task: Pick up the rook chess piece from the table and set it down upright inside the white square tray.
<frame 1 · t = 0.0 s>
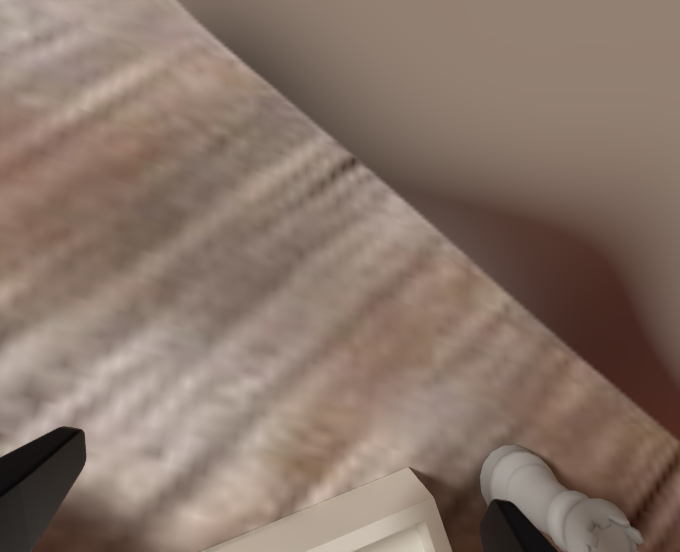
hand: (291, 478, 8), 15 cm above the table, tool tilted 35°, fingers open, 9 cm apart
rook chess piece: (507, 478, 22), on the table
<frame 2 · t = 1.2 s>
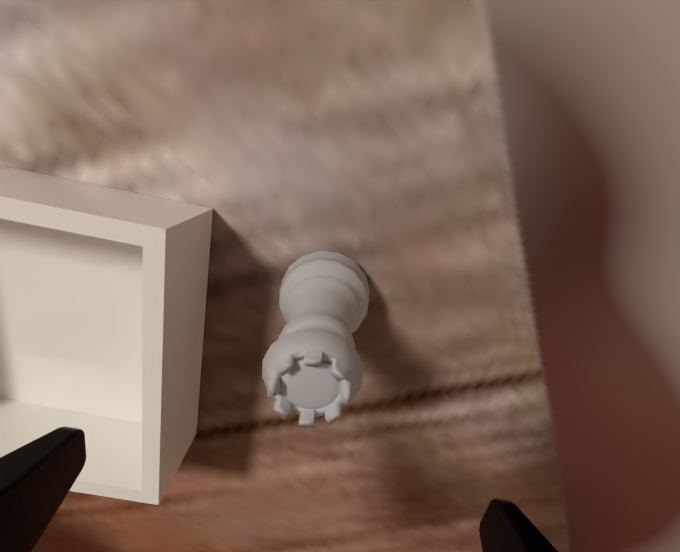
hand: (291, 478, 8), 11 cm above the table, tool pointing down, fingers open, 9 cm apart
white square tray: (72, 311, 18), on the table
rook chess piece: (325, 288, 18), on the table
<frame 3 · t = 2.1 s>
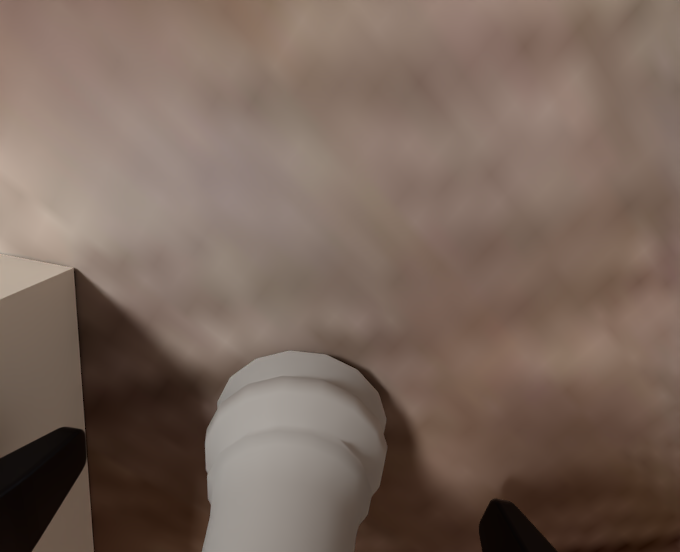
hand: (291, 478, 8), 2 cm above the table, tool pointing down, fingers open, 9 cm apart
rook chess piece: (304, 405, 10), on the table
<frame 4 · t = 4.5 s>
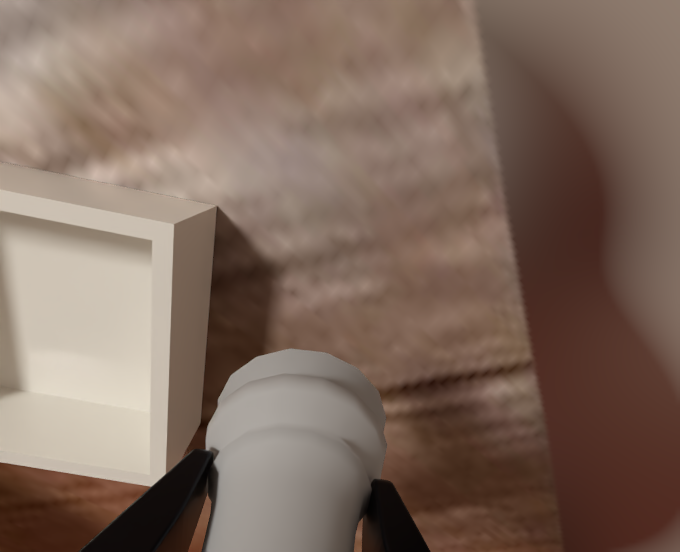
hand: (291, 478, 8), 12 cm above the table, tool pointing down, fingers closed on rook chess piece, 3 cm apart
white square tray: (82, 304, 19), on the table
rook chess piece: (304, 403, 10), point 9 cm above the table, touching gripper
when the fingers open (5 cm above the table, at t = 7.2 s): rook chess piece drops 1 cm, resting on white square tray.
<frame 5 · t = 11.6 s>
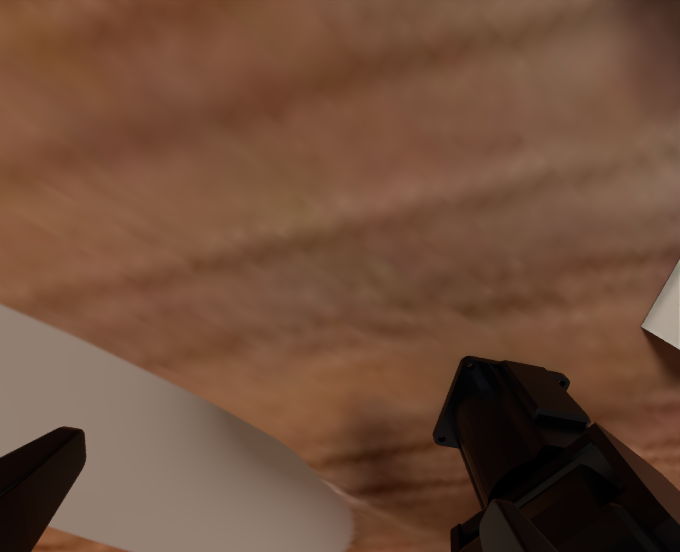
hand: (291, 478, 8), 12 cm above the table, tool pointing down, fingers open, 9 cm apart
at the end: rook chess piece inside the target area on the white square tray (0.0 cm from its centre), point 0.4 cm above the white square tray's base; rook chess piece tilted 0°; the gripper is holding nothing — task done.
